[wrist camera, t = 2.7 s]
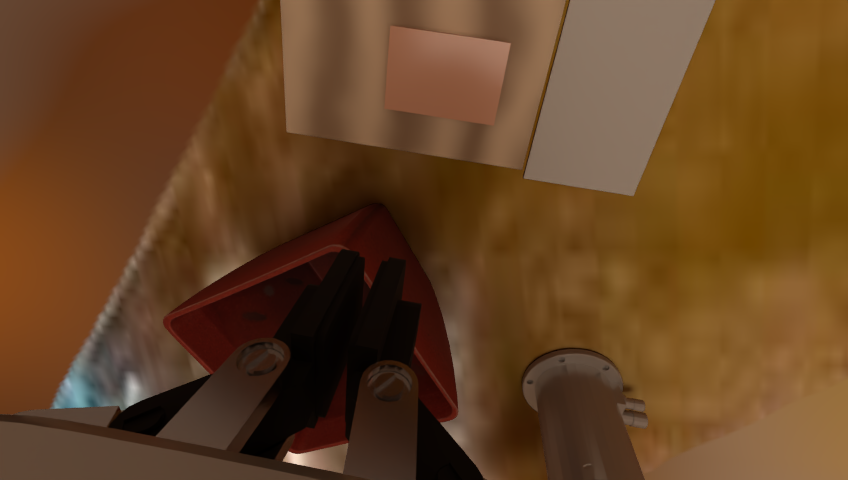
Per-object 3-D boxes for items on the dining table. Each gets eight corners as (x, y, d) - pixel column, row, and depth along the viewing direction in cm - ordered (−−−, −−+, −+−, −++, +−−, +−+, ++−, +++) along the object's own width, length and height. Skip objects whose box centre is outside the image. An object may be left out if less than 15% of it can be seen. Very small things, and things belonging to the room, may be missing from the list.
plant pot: (341, 341, 54) (290, 459, 40) (255, 228, 47) (154, 321, 33) (468, 299, 48) (463, 419, 34) (391, 162, 41) (343, 239, 27)
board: (559, -9, 32) (569, -12, 29) (518, 156, 39) (522, 169, 36) (298, -45, 33) (277, -53, 30) (303, 122, 40) (286, 132, 37)
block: (508, 41, 31) (511, 43, 29) (492, 119, 34) (493, 125, 32) (396, 25, 31) (390, 25, 29) (390, 103, 34) (384, 108, 32)
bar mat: (720, -17, 31) (722, -18, 31) (632, 194, 40) (633, 196, 39) (579, -36, 31) (580, -37, 31) (523, 177, 40) (523, 178, 40)
